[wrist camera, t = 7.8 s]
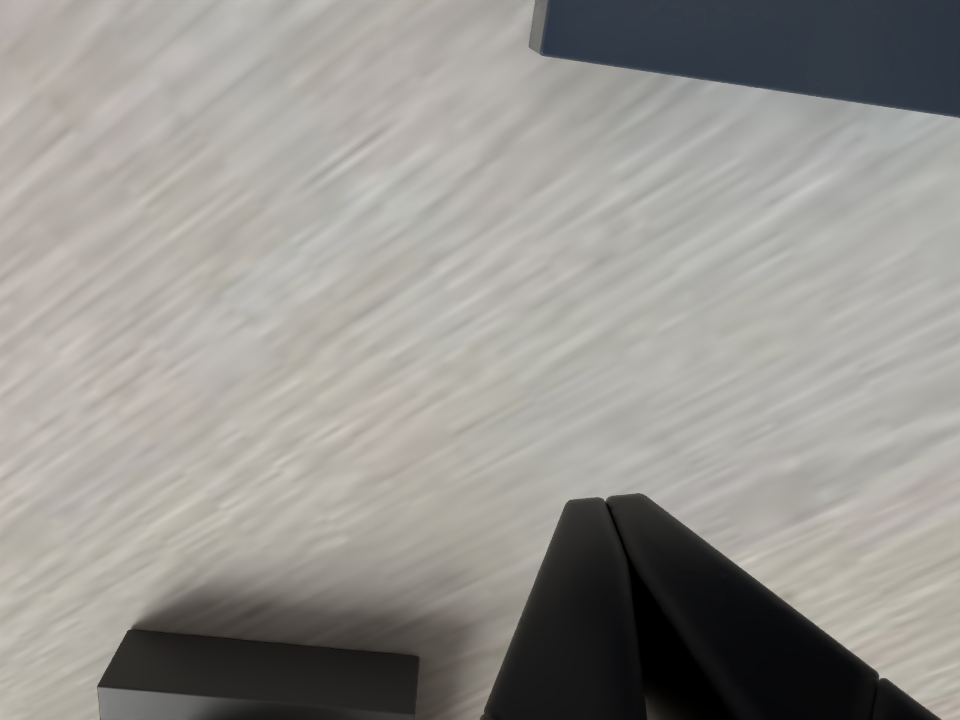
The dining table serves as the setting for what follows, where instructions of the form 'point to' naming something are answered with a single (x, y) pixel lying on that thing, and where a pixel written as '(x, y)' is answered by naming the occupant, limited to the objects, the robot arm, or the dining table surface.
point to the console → (772, 44)
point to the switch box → (252, 681)
